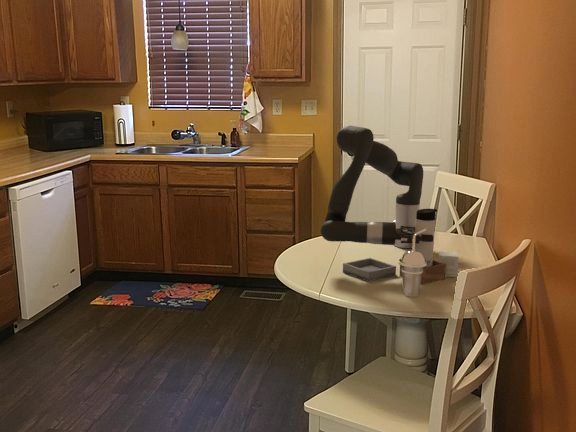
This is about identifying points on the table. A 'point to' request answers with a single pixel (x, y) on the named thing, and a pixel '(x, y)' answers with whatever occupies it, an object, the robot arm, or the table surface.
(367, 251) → the table surface
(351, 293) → the table surface
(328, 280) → the table surface
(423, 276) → the walnut holder
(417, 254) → the cup with straw
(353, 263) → the slate tray
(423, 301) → the table surface
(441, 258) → the product box
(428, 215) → the travel mug
